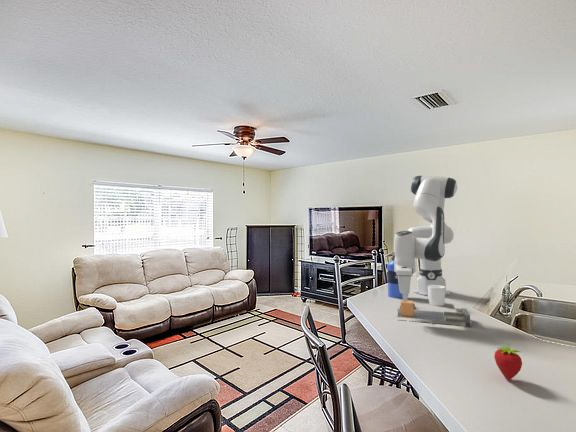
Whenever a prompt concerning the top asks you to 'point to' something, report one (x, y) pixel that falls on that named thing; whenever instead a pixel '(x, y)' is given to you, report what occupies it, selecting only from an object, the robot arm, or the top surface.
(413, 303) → the pad
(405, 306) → the orange notched block
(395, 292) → the water bottle
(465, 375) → the top surface
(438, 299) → the white cup
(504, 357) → the strawberry
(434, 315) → the rail
